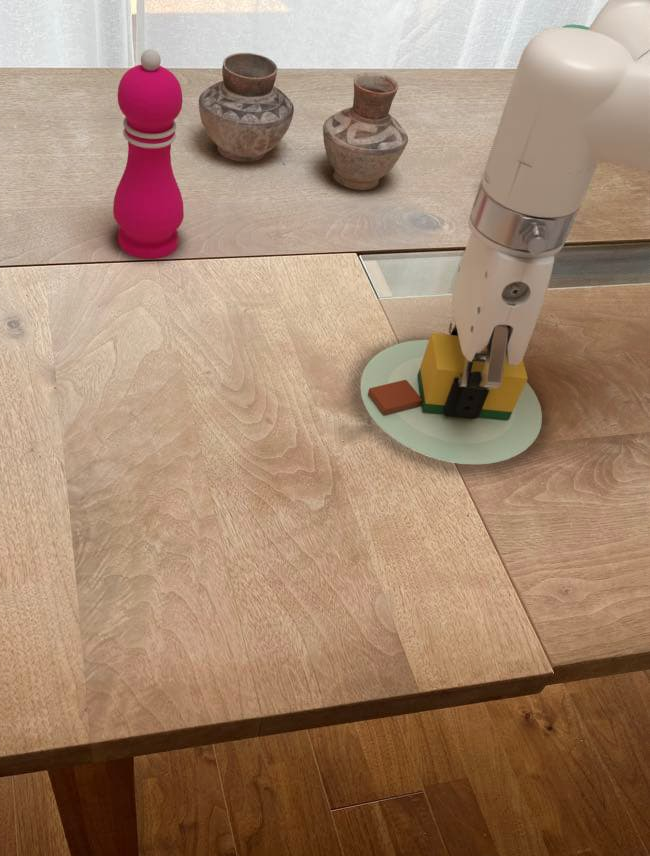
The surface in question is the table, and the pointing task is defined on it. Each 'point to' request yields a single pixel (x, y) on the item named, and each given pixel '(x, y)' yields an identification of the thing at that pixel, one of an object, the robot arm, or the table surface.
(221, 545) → the table surface
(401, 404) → the block
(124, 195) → the pepper mill
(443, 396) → the sponge
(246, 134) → the pottery
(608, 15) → the robot arm
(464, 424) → the plate
